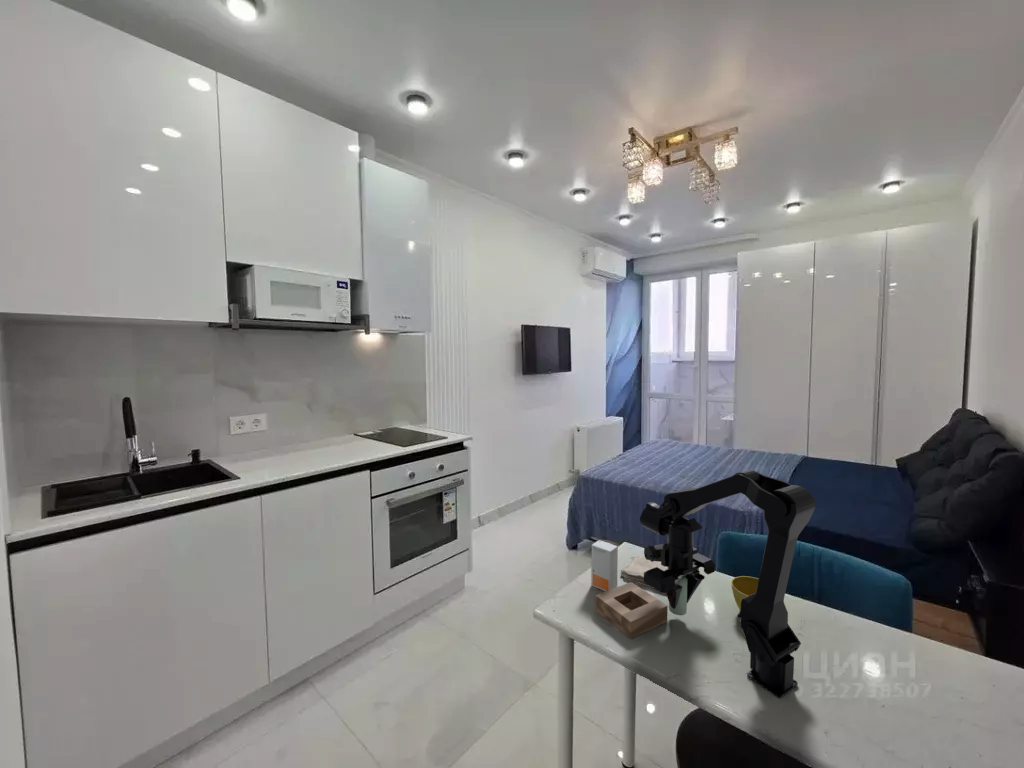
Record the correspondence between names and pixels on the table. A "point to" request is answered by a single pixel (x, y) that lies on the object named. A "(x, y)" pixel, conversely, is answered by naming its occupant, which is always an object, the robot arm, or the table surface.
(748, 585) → the yellow bowl
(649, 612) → the walnut socket
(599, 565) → the skincare box
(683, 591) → the sage peg
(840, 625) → the table surface
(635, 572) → the washcloth
